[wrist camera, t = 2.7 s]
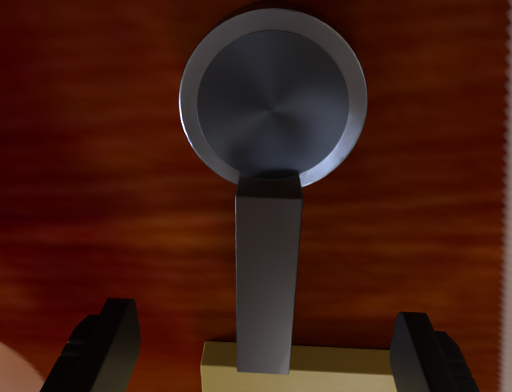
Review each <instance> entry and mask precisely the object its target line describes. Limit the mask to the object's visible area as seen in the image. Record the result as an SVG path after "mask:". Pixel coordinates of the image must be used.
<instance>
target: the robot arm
mask: <svg viewBox="0 0 512 392" xmlns="http://www.w3.org/2000/svg"><path fill="white" fill-rule="evenodd" d="M140 342H141V335H140V328H139V322H138V315H137V309H136V303H135V300H134V299H123V298H109V299H107V301H106V302H105V304H104V306H103V308H102V310H101V312H100V314H99V315H91V314H89V315H88V316H87V317H86V318H85V319H84V320H83V321H82V322H80V323H79V324H78V325H77V326H76V327H75V329H74V331H73V333H72V334H71V336H70V338H69V340H68V343H67V344H66V345H65V347H64V349H63V350H62V352H61V356H59V358H58V359H57V361H56V363H55V365H54V367H53V368H52V370H51V372H50V374H49V376H48V377H47V379H46V381H45V383H44V385H43V386H42V388H41V390H40V392H125V391H126V388H127V385H128V382H129V380H130V377H131V374H132V371H133V368H134V366H135V363H136V360H137V357H138V354H139V350H140ZM465 362H466V361H465V359H464V357H463V355H462V353H461V351H460V348H459V346H458V345H457V344H456V343H455V342H454V341H453V340H452V339H451V338H450V337H449V336H448V335H447V334H446V332H441V331H434V329H433V327H432V325H431V322H430V320H429V318H428V316H427V314H426V313H419V312H399V313H398V315H397V319H396V323H395V328H394V332H393V337H392V341H391V345H390V366H391V371H392V375H393V378H394V382H395V386H396V389H397V392H479V389H478V387H477V385H476V383H475V381H474V379H473V378H472V376H471V375H472V374H471V372H470V370H469V368H468V366H467V365H466V363H465Z"/></svg>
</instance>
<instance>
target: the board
mask: <svg viewBox="0 0 512 392" xmlns="http://www.w3.org/2000/svg"><path fill="white" fill-rule="evenodd" d="M201 379H202V392H397V389H396V386H395V382H394V378H393V375H392V371H391V366H390V350H376V349H356V348H336V347H316V346H296V345H292V346H291V359H290V372H289V375H283V374H264V373H245V372H237V343H235V342H215V341H205V344H204V349H203V355H202V360H201Z"/></svg>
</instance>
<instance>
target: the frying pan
mask: <svg viewBox="0 0 512 392" xmlns="http://www.w3.org/2000/svg"><path fill="white" fill-rule="evenodd" d="M367 106H368V92H367V84H366V79H365V75H364V72H363V69H362V66H361V63H360V61H359V59H358V57H357V56H356V54H355V52H354V50H353V49H352V48H351V46H350V45H349V43H348V42H347V41H346V39H345V38H344V37H343V35H342V34H341V32H340V31H339V30H338V29H337V28H336V27H335V26H334V25H333V24H332V23H331V22H330V21H329V20H327V19H326V18H325V17H324V16H322V15H321V14H319V13H317V12H315V11H314V10H312V9H310V8H307V7H305V6H302V5H299V4H295V3H291V2H283V1H264V2H259V3H254V4H250V5H247V6H244V7H241V8H239V9H237V10H235V11H233V12H232V13H230V14H228V15H227V16H225V17H224V18H223V19H221V20H220V21H219V22H218V23H217V24H216V25H215V26H214V27H212V28H211V30H210V31H209V32H208V33H207V34H206V35H205V36H204V37H203V39H202V40H201V41H200V42H199V44H198V45H197V46H196V47H195V49H194V50H193V52H192V54H191V55H190V57H189V59H188V61H187V64H186V66H185V68H184V71H183V74H182V78H181V82H180V89H179V110H180V118H181V121H182V125H183V129H184V131H185V134H186V136H187V138H188V141H189V142H190V144H191V146H192V147H193V149H194V151H195V152H196V153H197V155H198V156H199V157H200V159H201V160H202V161H203V162H204V163H205V164H206V165H207V166H208V167H209V168H210V169H212V170H213V171H214V172H215V173H217V174H218V175H220V176H221V177H223V178H224V179H226V180H228V181H230V182H232V183H234V184H236V185H237V189H236V194H235V240H236V338H237V372H245V373H264V374H283V375H289V372H290V359H291V346H292V334H293V321H294V308H295V296H296V283H297V270H298V258H299V245H300V232H301V219H302V207H303V193H302V187H304V186H307V185H310V184H312V183H314V182H316V181H318V180H320V179H322V178H324V177H325V176H326V175H328V174H329V173H331V172H332V171H333V170H334V169H336V168H337V167H338V166H339V165H340V164H341V163H342V162H343V161H344V160H345V159H346V157H347V156H348V155H349V154H350V152H351V151H352V149H353V148H354V146H355V145H356V143H357V141H358V139H359V137H360V135H361V132H362V130H363V127H364V124H365V119H366V115H367Z"/></svg>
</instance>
